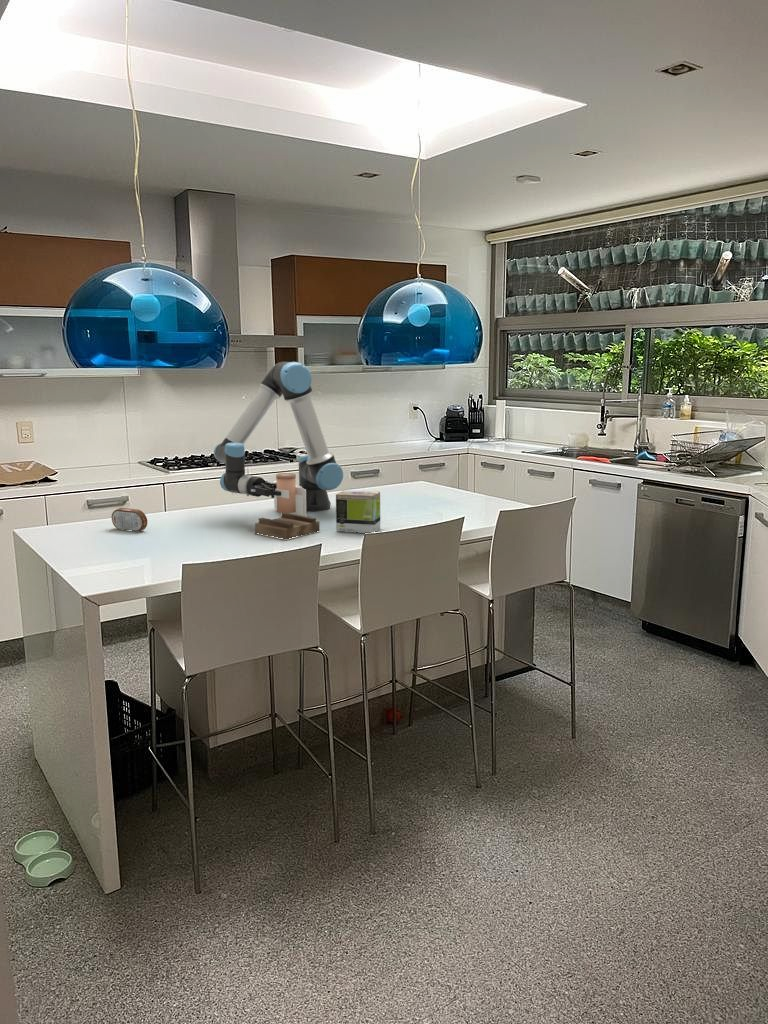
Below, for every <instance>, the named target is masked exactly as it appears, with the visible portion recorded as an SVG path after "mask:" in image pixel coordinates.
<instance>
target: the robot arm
mask: <svg viewBox="0 0 768 1024" xmlns="http://www.w3.org/2000/svg"><path fill="white" fill-rule="evenodd" d="M312 381H313V380H312V373H311V371H310V370H309V368H308V367H307V366H306V365H305V364H303V363H300V362H298V361H279V362H278V363H275V364H274V365H273V366H272V367H271V369H269V370H268V372H267V374H266V375H265V376H264V378H263V379H262V381H261V382H260V384H259V386H260V387H259V389H258V391H257V392H256V393H255V394H254V396H253V398H252V400H251V401H250V402H249V404H248V405H247V407H245V410H244V411H243V413H242V414H241V415H240V416H239V418H238V419H237V421H236V422H235V424H234V425H233V426H232V428H231V429H230V431H229V432H228V433H227V435H226V437H225V438H224V439H223V441H222V442H221V443H218V444H217V445H216V446H215V447H214V448H213V456H214V458H215V459H216V460H217V461H218V462H219V463H221V464H225V466H224V467H225V472H223V474H222V475H221V477H220V480H219V485H220V487H221V488H222V489H223V490H224V491H225V492H230V493H232V494H233V493H235V494H241V495H246V497H249V496H251V497H258V498H259V497H261V496H264V497H268V498H269V497H270V496H271V497H270V498H271V499H274V495H275V496H277V497H282V498H289V491H287V490H281V489H277V482H275V481H274V482H275V483H274V482H269V481H267V482H266V480H265V479H264V478H263V477H260V476H255V475H249V474H248V475H247V474H246V462H245V461H246V455H245V454H246V451H245V443H246V442H247V441H248V439H249V438H250V436H251V435H252V434H253V433H254V431H255V429H256V428H257V426H258V425H259V424H260V422H261V421H262V420H263V418H264V417H265V415H266V414H267V412H268V411H269V409H270V408H271V407H272V405H273V403H274V402H275V400H279V399H280V398H281V397H282V396H283V400H284V401H286V402H287V403H289V405H290V407H291V410H292V414H293V417H294V420H295V423H296V425H297V428H298V431H299V434H300V437H301V440H302V443H303V446H304V448H305V451H306V455H301V456H299V457H298V464H297V465H298V486H302V488H300V487H296V495H302V496H303V495H304V489H306V512H320V511H325V510H326V511H327V510H329V509H331V508H330V507H331V506H332V505H331V504H332V503H331V500H330V497H329V494H328V492H327V491H332V490H335V489H337V488H339V486H340V485H341V484H342V482H343V479H344V470H343V468H342V467H341V466H340V465H339V464H338V463H337V461H336V458H335V455H334V453H333V452H332V451H329V449H328V446H327V443H326V439H325V437H324V434H323V431H322V428H321V425H320V423H319V419H318V416H317V413H316V410H315V407H314V404H313V401H312V397H311V395H312V393H313V389H312V386H311V384H312Z"/></svg>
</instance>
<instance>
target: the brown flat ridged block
mask: <svg viewBox="0 0 768 1024" xmlns="http://www.w3.org/2000/svg"><path fill="white" fill-rule="evenodd" d="M320 525H321V524H320V521H319V520H317V518H316V517H310V516H307V515H306V516H301V515H295V514H290V513H282V517H281V516H280V517H278V518H273V519H270V518H266V517H261V518H258V522H255V523H254V533H259V534H263V535H268V536H274V537H278V538H283V539H289V538H292V537H296V536H301V535H305V534H308V535H310V534H309V533H312V534H315V533H314V532H316V533H318V532H317V531H320V529H321V528H320ZM263 535H262V536H263ZM305 536H306V535H305ZM301 537H302V536H301Z"/></svg>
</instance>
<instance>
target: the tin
mask: <svg viewBox="0 0 768 1024" xmlns="http://www.w3.org/2000/svg"><path fill="white" fill-rule="evenodd" d="M111 521H112V525H113V526H114V527H115V528H116V529H118V530H119V529H124V530H123V531H125V530H132V531H131V532H133V531H139V532H141V530H142V531H144V530H145V529H146V528H147V527H148V518H147V516H146V514H145V513H144V511H142V510H140V509H139V508H138V509H135V508H128V507H127V508H126V507H119V508H117V509H115V510H114V511H113V512H112V513H111Z"/></svg>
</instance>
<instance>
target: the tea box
mask: <svg viewBox="0 0 768 1024" xmlns="http://www.w3.org/2000/svg"><path fill="white" fill-rule="evenodd" d="M335 515H336V516H335V522H336V523H335V524H336V525H335V527H336V532H339V531H345V532H344V533H356V532H358V533H361V534H366V533H365V532H374V531H378V532H379V530H381V492H380V491H369V490H345V489H344V490H341V491H339V492H338V493H336V494H335ZM358 533H357V534H358Z"/></svg>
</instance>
